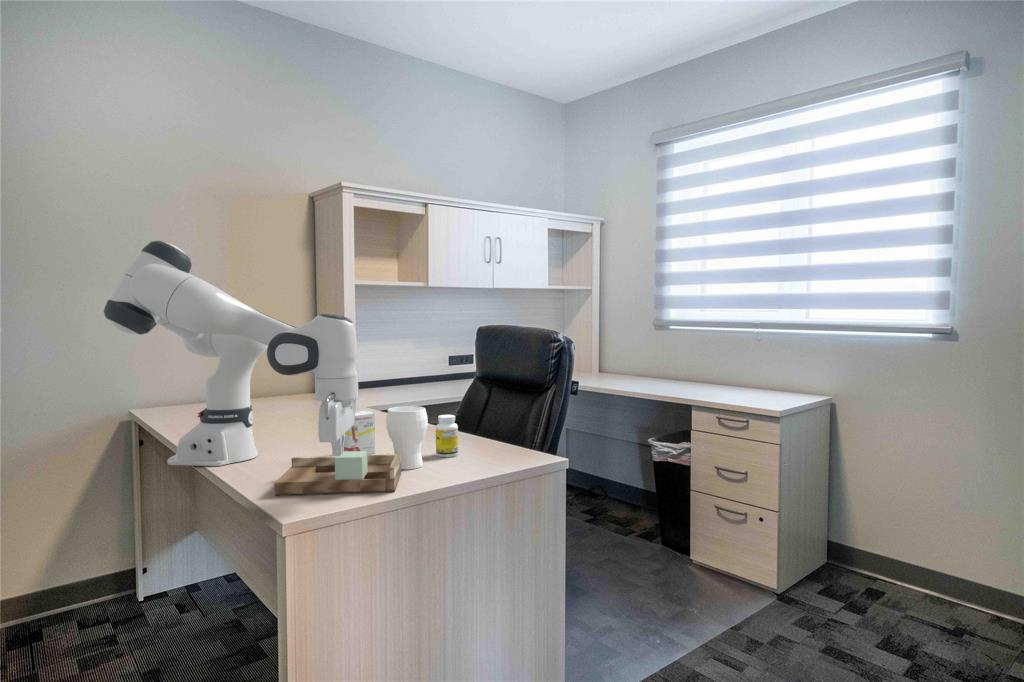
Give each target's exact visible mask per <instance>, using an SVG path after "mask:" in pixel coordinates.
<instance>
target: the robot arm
mask: <svg viewBox="0 0 1024 682" xmlns="http://www.w3.org/2000/svg"><path fill="white" fill-rule="evenodd" d="M192 265H193V264H192V261H191V258H190V257H189V256H188V255H187V254H186V253H185V252H184V251H183V249H181V248H180V247H178V246H177V245H175V244H172V243H170V242H166V241H162V240H152V241H150V242H149V243H147V244H146V245H145V246H144V247H143V248H142V249H141V252H140V254H139V255H138V256H137V257H136V258H135V259H134V260H133V262H131V263H130V265H129V266H128V268H127V269H126V270H125V272H124V273H123V276H122V278H120V280H119V282H118V284H117V285H116V288H115V289H114V291H113V293H112V295H111V296H110V299H107V301H106V304H105V306H104V309H103V314H104V317H105V319H106V320H108V321H109V323H110V324H111V325H113V327H114V328H115V329H117V330H119V331H121V332H123V333H126V334H130V335H133V334H134V335H139V336H141V335H145V334H148V333H150V331H151V332H152V330H153V329H154V328H155V327H156V326H158V325H159V326H162V327H163V328H165V329H167V330H168V331H171V332H172V333H174V334H176V335H178V336H179V337H180V338H182V342H183V344H184V346H185V347H184V348H186V349H187V350H188V351H189V352H191V353H192V354H194V355H198V356H201V357H207V358H219V360H218V363H217V367H216V370H215V371H214V373H212V374H211V375H209V376H208V377H207V379H206V382H205V396H206V397H205V399H206V408H204V409H202V410H200V411H199V412H198V413H197V418H199V421H200V422H199V423H197V424H196V425H195V426H193V428H191V429H190V430H189V431H188V432H186V433H185V434H183V436H181V437H180V439H179V441H178V442H177V446H176V453H175V454H174V455H172V456H170V457H169V458H168V459H167V461H166V463H167V465H168V466H199V467H200V466H201V467H203V466H205V467H210V466H211V467H220V466H224V465H227V464H228V465H229V464H233V463H240V462H245V461H248V460H252V459H254V458H256V457H258V456H259V452H258V450H257V446H256V443H255V439H254V433H253V424H254V412H253V406H252V404H251V377H252V374H253V371H254V367H255V365H256V363H257V360H258V359H259V357H260V356H262V355H263V354H264V353H265V352H266V357H267V358H266V359H267V362H268V364H269V366H270V367H271V369H272V370H273V371H275V372H276V373H278V374H280V375H283V376H287V377H289V376H290V377H294V376H300V375H305V374H309V373H313V374H314V396H315V397H314V398H315V400H316V401H320V402H321V404H320V405H319V408H318V409H319V410H318V439H319V440H318V441H319V442H320V443H330V445H331V451H332V453H331V454H332V456H341V454H342V453H343V452H344V440H345V433H346V432H347V431H348V430H349V429H350V428H351V427H352V426H353V424H354V420H355V412H356V408H357V404H356V403H357V402H356V401H357V399H358V398H359V391H360V390H359V374H358V371H357V361H358V360H357V359H358V340H357V332H356V331H357V330H356V327H355V324H354V322H353V321H352V320H351V319H350V318H349V317H346V316H342V315H338V314H337V315H336V314H329V313H321V314H320V313H319V314H318V315H316V316H315V317H314V318H313V319H311V320H310V321H308V322H306V323H304V324H302V325H300V326H297V327H296V326H293V325H290V324H289V323H286V322H284V321H281V320H279V319H277V318H275V317H272V316H270V315H267V314H265V313H264V312H261V311H259V310H256V309H254V308H253V307H250V306H248V305H247V304H245V303H244V302H243V301H242V302H241V301H240V300H239V299H236V298H235V297H233V296H231V295H229V293H227V292H225V291H223V290H222V289H220V288H219V287H216V286H215V285H213V284H211V283H209V282H207V281H205V280H204V279H202V278H200V277H197V276H196V275H193V274H191V273H190V272H191V270H192ZM157 324H158V325H157Z"/></svg>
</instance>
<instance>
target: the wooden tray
mask: <svg viewBox="0 0 1024 682" xmlns="http://www.w3.org/2000/svg"><path fill="white" fill-rule="evenodd" d="M335 457H336V456H333V455H332V456H301V457H299V456H293V457H291V467H290V468H289V469H287V471H285V472H284V473H283V474H282V475H281V476H280V477H279V478H278V479H276V481H275V482H274V484H273V485H274V496H275V497H284V496H285V497H287V496H289V497H291V496H292V497H293V496H319V495H346V494H347V495H349V494H353V495H354V494H374V493H375V494H380V493H395V492H396V489H397V487H398V483H399V481H400V478H401V475H402V469H401V454H400V453H396V454H394V453H393V454H369V455H367V467H368V473H367V474H366V475H365V477H364V478H363V479H361V480H335Z"/></svg>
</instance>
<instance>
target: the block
mask: <svg viewBox="0 0 1024 682" xmlns="http://www.w3.org/2000/svg"><path fill="white" fill-rule="evenodd" d="M367 473H368V467H367V451H345V452H343V453H342V454H341V456H336V457H335V480H361V479H363V478H364V477H365V475H366V474H367Z"/></svg>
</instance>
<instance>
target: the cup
mask: <svg viewBox="0 0 1024 682" xmlns="http://www.w3.org/2000/svg"><path fill="white" fill-rule="evenodd" d="M428 419H429V418H428V413H427V410H426V408H425V407H423V406H418V405H416V406H415V405H403V406H395V407H394V406H393V407H390V408H388V409H387V414H386V419H385V422H386V423H385V425H386V430H387V434H388V436H389V438H390V440H391V442H392V445H393V455H394V454H396V453H400V454H401V470H415V469H419V468H421V467H423V464H424V463H423V457H422V453H421V450H422V442H423V440H424V438H425V436H426V433H427V430H428V423H429V422H428Z"/></svg>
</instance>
